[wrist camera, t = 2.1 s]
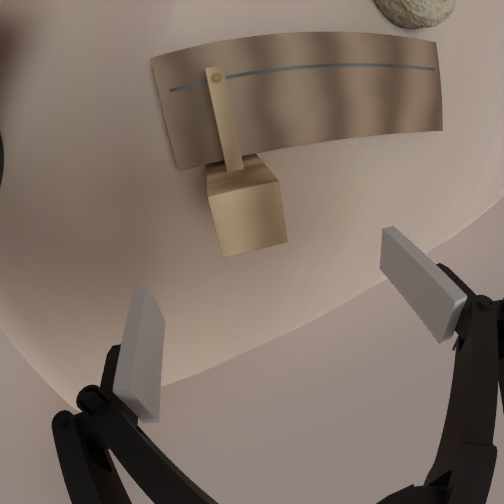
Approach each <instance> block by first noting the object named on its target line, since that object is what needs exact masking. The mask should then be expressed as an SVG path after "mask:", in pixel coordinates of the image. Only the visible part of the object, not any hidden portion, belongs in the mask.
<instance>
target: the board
mask: <svg viewBox="0 0 504 504" xmlns="http://www.w3.org/2000/svg"><path fill="white" fill-rule="evenodd" d="M151 62H152V66H153V71H154V76H155V80H156V84H157V89H158V93H159V97H160V102H161V106H162V110H163V114H164V118H165V122H166V126H167V130H168V134H169V138H170V142H171V146H172V150H173V153H174V157H175V161H176V165H177V168H178V171H181V170H185V169H189V168H193V167H197V166H201V165H205V164H209V163H213V162H217V161H222V160H224V156H223V151H222V147H221V142H220V138H219V133H218V128H217V124H216V119H215V114H214V110H213V105H212V100H211V96H210V91H209V86H208V82H207V77H206V72H205V68H209V67H214V66H219V65H223V67H224V72H225V77H226V82H227V87H228V92H229V97H230V102H231V106H232V111H233V116H234V121H235V126H236V131H237V136H238V141H239V146H240V151H241V156H244V155H249V154H254V153H259V152H264V151H269V150H275V149H280V148H286V147H291V146H297V145H303V144H310V143H316V142H323V141H330V140H338V139H345V138H354V137H362V136H372V135H382V134H394V133H407V132H424V131H443V120H442V96H441V82H440V71H439V62H438V54H437V47H436V42H431V41H426V40H420V39H414V38H407V37H400V36H392V35H383V34H371V33H355V32H299V33H283V34H271V35H261V36H253V37H245V38H238V39H232V40H226V41H220V42H215V43H210V44H205V45H200V46H195V47H191V48H187V49H183V50H179V51H175V52H171V53H167V54H164V55H160V56H157V57H153V58H151Z"/></svg>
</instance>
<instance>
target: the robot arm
mask: <svg viewBox="0 0 504 504" xmlns="http://www.w3.org/2000/svg"><path fill="white" fill-rule="evenodd" d="M2 171H3V148H2V141H1V136H0V183H1V178H2ZM380 269H381V271H382V272H383V273H384V274H385V275H386V277H387V278H388V279H389V280H390V281H391V283H392V284H393V285H394V286H395V287H396V288H397V290H398V291H399V292H400V293H401V295H402V296H403V297H404V298H405V300H406V301H407V302H408V303H409V305H410V306H411V307H412V308H413V310H414V311H415V312H416V314H417V315H418V316H419V318H420V319H421V320H422V321H423V323H424V324H425V325H426V326H427V328H428V329H429V331H430V332H431V333H432V335H433V336H434V337H435V339H436V340H437V342H438V343H439V344H442V343H444V342H446V341H448V340H450V339H451V338H452V336H453V333H454V331H456V332H457V334H458V337H457V340H456V342H455V344H454V346H453V349H452V350H455V347H456V355H455V364H454V372H453V380H452V387H451V393H450V399H449V405H448V409H447V415H446V419H445V424H444V428H443V433H442V437H441V441H440V445H439V448H438V452H437V455H436V459H435V462H434V464H433V466H432V468H431V470H430V471H429V473H428V475H427V477H426V480H425V483H424V485H423V486H416V487H414V485H413V484H412V485H410V486H408V487H406V488H404V489H402V490H400V491H398V492H395V493H393V494H391V495H388V496H387V497H385V498H384V499H382V500H381V501H379V502H378V503H376V504H485V503H486V500H487V497H488V493H489V489H490V485H491V481H492V477H493V473H494V468H495V462H496V458H497V447H496V446H494V445H493V434H494V427H495V419H496V408H497V395H498V381H499V387H500V392H501V398H502V405H503V412H504V298H503V300H498V301H492V300H491V299H490V298H489V297H487V296H484V295H476V294H475V293H474V292H473V291H472V290H471V289H470V288H469V287H468V286H467V285H466V284H465V283H464V282H463V281H462V280H461V279H459V277H458V276H456V275H455V274H454V273H453V271H451V270H450V269H449V268H448V267H446V266H444V265H443V264H441V263H439V264H435V263H434V262H433V261H432V260H430V259H429V258H428V257H427V256H426V255H425V254H424V253H423V252H422V251H421V250H420V249H419V248H418V247H416V246H415V245H414V244H413V243H412V242H411V241H410V240H409V239H408V238H406V237H405V236H404V235H403V234H402V233H401V232H400V231H398V230H397V229H396V228H395V227H394V226H391V227H387V228H383V229H382V244H381V258H380ZM164 332H165V319H164V317H163V315H162V313H161V311H160V309H159V307H158V305H157V303H156V301H155V298H154V296H153V294H152V292H151V290H150V288H149V286H148V284H147V285H142V286H138V287H135V289H134V293H133V297H132V301H131V305H130V309H129V313H128V317H127V321H126V326H125V330H124V334H123V339H122V343H121V344H120V345H114V346H112V347H111V349H110V351H109V352H108V354H107V357H106V361H105V366H104V372H103V375H102V380H101V385H100V387H99V386H97V385H88V386H86V387H84V388H83V389H82V390H81V391H80V392H79V394H78V396H77V400H76V403H77V407H78V408H79V409H80V410H81V411H83V412H81V413H78V414H76V415H73V414H72V413H71V412H69V411H66V410H63V411H60V412H58V413H57V414H56V415H55V416H54V418H53V420H52V431H53V436H54V441H55V445H56V450H57V454H58V458H59V462H60V466H61V470H62V474H63V477H64V481H65V484H66V487H67V490H68V493H69V496H70V499H71V502H72V504H132V503H131V501H130V499H129V497H128V495H127V493H126V490H125V488H124V486H123V484H122V482H121V479H120V477H119V475H118V473H117V470H116V468H115V466H114V463H113V461H112V458H111V456H110V453H109V451H108V449H110V450H111V451H112V452H113V454H114V455H115V456H116V458H117V459H118V460H119V462H120V463H121V464H122V466H123V467H124V468H125V469H126V471H127V472H128V473H129V474H130V476H131V477H132V478H133V479H134V481H135V482H136V483H137V484H138V485H139V487H140V488H141V489H142V490H143V491H144V492H145V493H146V495H147V496H148V497H149V498H150V499H151V500H152V501H153V502H154V503H155V504H218V503H217V502H216V501H215V500H214V499H212V498H211V497H210V496H209V495H207V494H206V493H205V492H204V491H203V490H201V489H200V488H199V487H198V486H197V485H195V483H194V482H193V481H191V480H190V479H189V478H188V477H187V476H186V475H185V474H184V473H183V472H182V471H181V470H180V469H179V468H178V467H177V466H175V464H174V463H173V462H171V460H169V459H168V457H166V455H165V454H164V453H163V452H162V451H161V450H160V449H159V448H158V447H157V446H156V445H155V444H154V443H153V442H152V441H151V440H150V438H149V437H148V436H147V435H146V434H145V433H144V432H143V431H142V430H141V428H140V427H139V426H138V425H137V424H138V418H139V419H140V420H141V421H142V422H143V423H156V422H159V411H160V388H161V371H162V356H163V344H164Z"/></svg>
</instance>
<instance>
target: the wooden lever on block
mask: <svg viewBox="0 0 504 504" xmlns="http://www.w3.org/2000/svg"><path fill="white" fill-rule="evenodd" d="M205 72H206V77H207V82H208V86H209V91H210V96H211V100H212V105H213V110H214V114H215V119H216V124H217V128H218V133H219V138H220V142H221V147H222V151H223V156H224V160H222V161H217V162H213V163H209V164H206V179H207V195H208V200H209V204H210V208H211V212H212V216H213V220H214V224H215V227H216V231H217V235H218V239H219V242H220V246H221V250H222V253H223V257H228V256H232V255H236V254H240V253H244V252H249V251H253V250H257V249H261V248H266V247H270V246H274V245H278V244H282V243H287V236H286V228H285V221H284V214H283V207H282V200H281V193H280V186H279V181H278V180H277V178H276V177H275V176H274V175H273V174H272V172H271V171H270V170H269V169H268V168H267V166H266V165H265V164H264V163H263V162H262V160H261V159H260V158H259V157H258V156H257V155H256V153H254V154H249V155H244V156H241V151H240V146H239V141H238V136H237V131H236V126H235V121H234V116H233V111H232V106H231V102H230V97H229V92H228V87H227V82H226V77H225V72H224V67H223V65H219V66H214V67H209V68H205Z"/></svg>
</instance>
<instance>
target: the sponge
mask: <svg viewBox="0 0 504 504" xmlns="http://www.w3.org/2000/svg"><path fill="white" fill-rule="evenodd" d="M374 1H375V3H376V4H377V6H378V7H379V9H380V10H381V11H382V12H383V14H384V15H385V16H386V17H387V18H388V19H390V20H391V21H392V22H393V23H394V24H395V25H399V26H402V27H404V28H415V29H418V28H425V27H426V28H428V27H433V26H437V25H438V24H439V23H441V22H443V21H445V19H447V18H448V17H449V15H450V14H451V13H452V12H453V11H454V9H455V0H374Z"/></svg>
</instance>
